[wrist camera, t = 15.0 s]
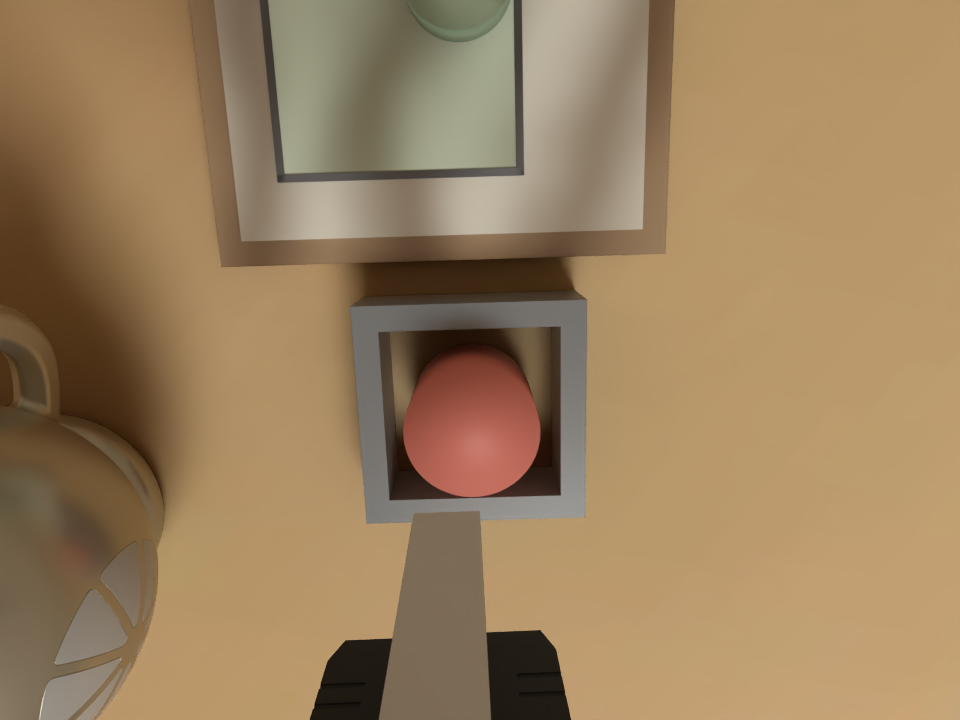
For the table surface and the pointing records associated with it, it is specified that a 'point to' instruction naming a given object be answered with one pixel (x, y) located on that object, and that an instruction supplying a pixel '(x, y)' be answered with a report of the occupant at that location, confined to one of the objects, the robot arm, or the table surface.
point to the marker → (458, 17)
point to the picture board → (434, 131)
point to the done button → (472, 422)
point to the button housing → (564, 311)
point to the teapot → (68, 545)
